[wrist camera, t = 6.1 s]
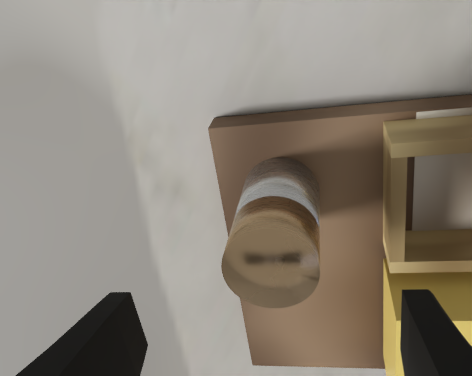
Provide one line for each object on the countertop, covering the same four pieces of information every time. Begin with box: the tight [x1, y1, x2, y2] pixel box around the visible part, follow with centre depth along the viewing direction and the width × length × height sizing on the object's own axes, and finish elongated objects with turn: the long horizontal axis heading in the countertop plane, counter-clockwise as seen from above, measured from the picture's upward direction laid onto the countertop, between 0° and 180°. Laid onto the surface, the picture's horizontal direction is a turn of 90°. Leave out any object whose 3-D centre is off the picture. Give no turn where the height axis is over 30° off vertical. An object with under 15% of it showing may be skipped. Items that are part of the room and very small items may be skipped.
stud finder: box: [383, 258, 472, 376], centre depth 18 cm, size 5×6×4 cm
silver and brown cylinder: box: [222, 157, 320, 308], centre depth 16 cm, size 3×3×5 cm
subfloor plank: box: [208, 94, 472, 369], centre depth 18 cm, size 15×13×3 cm
